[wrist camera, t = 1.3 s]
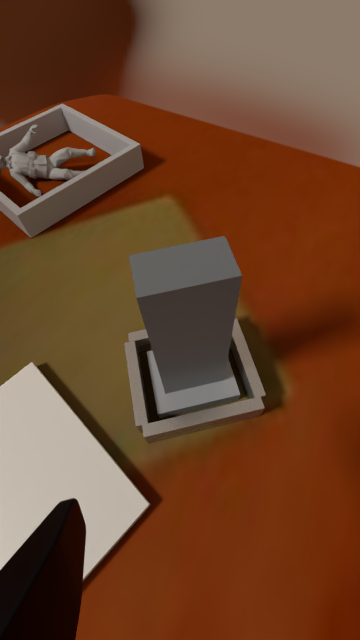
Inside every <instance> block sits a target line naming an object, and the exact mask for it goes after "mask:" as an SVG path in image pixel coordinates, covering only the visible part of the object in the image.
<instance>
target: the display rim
mask: <svg viewBox="0 0 360 640" xmlns="http://www.w3.org/2000/svg"><path fill="white" fill-rule="evenodd" d="M32 125H38V126H37V127H36V128H35V129H34V132H36V134H34V136H33V139H32V142H31V145H30V146H29V147H28V148H27V149H26V150H25V152H26V151H28V150H30V149H32V148H34V147H36V146H38V145H40V144H42V143H44V142H46V141H48V140H50V139H52V138H54V137H56V136H58V135H60V134H62V133H64V132H66V131H68V130H69V131H71V132H73V133H74V134H76V135H78V136H80V137H81V138H83V139H85V140H87V141H88V142H90V143H92V144H94V145H95V146H97V147H99V148H100V149H102V150H104V151H106V152H107V153H109V154H111V155H112V156H110V157H109V158H107V159H105V160H103V161H102V162H100V163H98V164H96V165H95V166H93V167H91V168H90V169H88V170H86V171H84V172H83V173H81V174H79V175H77V176H76V177H74V178H72V179H70V180H69V181H67V182H65V183H63V184H62V185H60V186H58V187H56V188H55V189H53V190H51V191H49V192H48V193H46V194H44V195H43V196H41V197H39V198H37V199H36V200H34V201H32V202H30V203H29V204H27V205H25V206H23V207H22V208H19V207H18V206H17V205H16V204H15V203H13V202H12V201H11V200H10V199H9V198H8V197H6V196H5V195H4V194H3V193H2V192H1V191H0V210H1V211H2V212H3V213H4V214H5V215H6V216H7V217H8V218H9V219H10V220H12V221H13V222H14V223H15V224H16V225H17V226H18V227H19V228H20V229H22V230H23V231H24V232H25V233H26V234H27V235H28V236H29V237H30V238H32V237H34V236H35V235H37V234H39V233H40V232H42V231H43V230H45V229H47V228H48V227H50V226H52V225H53V224H55V223H56V222H58V221H60V220H61V219H63V218H64V217H66V216H68V215H69V214H71V213H72V212H74V211H76V210H77V209H79V208H81V207H82V206H84V205H85V204H87V203H89V202H90V201H92V200H93V199H95V198H97V197H98V196H100V195H101V194H103V193H105V192H106V191H108V190H110V189H111V188H113V187H114V186H116V185H118V184H119V183H121V182H122V181H124V180H126V179H127V178H129V177H131V176H132V175H134V174H135V173H137V172H139V171H140V170H142V169H143V168H144V164H143V158H142V152H141V146H140V144H139V143H137V142H135V141H133V140H131V139H129V138H127V137H125V136H124V135H122V134H120V133H118V132H116V131H114V130H112V129H110V128H108V127H106V126H104V125H102V124H101V123H99V122H97V121H95V120H93V119H91V118H89V117H87V116H85V115H83V114H81V113H79V112H77V111H76V110H74V109H72V108H70V107H68V106H66V105H64V104H60V105H58V106H56V107H54V108H52V109H50V110H48V111H45V112H43V113H41V114H39V115H37V116H35V117H33V118H30V119H28V120H26V121H24V122H22V123H20V124H18V125H15V126H13V127H11V128H9V129H7V130H5V131H3V132H0V156H2V157H3V158H4V157H7V156H9V150H10V149H11V148H13V147H14V146H16V145H17V144H18V143H20V142H21V141H22V140H23V138H24V136H25V135H26V134H27V132H28V130H29V129H30V128H31V126H32ZM25 152H23V153H25ZM4 161H5V158H4ZM5 162H6V161H5Z"/></svg>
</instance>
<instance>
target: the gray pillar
mask: <svg viewBox="0 0 360 640" xmlns="http://www.w3.org/2000/svg"><path fill="white" fill-rule="evenodd" d="M129 259H130V264H131V270H132V275H133V281H134V287H135V292H136V298H137V301H138V304H139V308H140V311H141V314H142V318H143V321H144V324H145V328H146V331H147V334H148V338H149V341H150V344H151V348H152V350H151V351H147V357H148V363H149V368H150V374H151V379H152V385H153V390H154V396H155V401H156V407H157V412H158V416H159V418H165V417H169V416H173V415H177V414H181V413H185V412H190V411H194V410H198V409H202V408H206V407H211V406H215V405H219V404H223V403H227V402H231V401H236V400H239V397H240V392H239V389H238V386H237V383H236V380H235V377H234V374H233V371H232V368H231V365H230V362H229V359H228V355H229V349H230V343H231V337H232V331H233V325H234V320H235V314H236V308H237V302H238V296H239V290H240V284H241V278H242V275H241V272H240V270H239V268H238V265H237V263H236V261H235V258H234V256H233V254H232V251H231V249H230V247H229V244H228V242H227V240H226V237H225V236H222V237H217V238H212V239H207V240H202V241H198V242H193V243H188V244H183V245H178V246H173V247H168V248H163V249H158V250H153V251H148V252H143V253H138V254H133V255H129Z"/></svg>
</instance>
